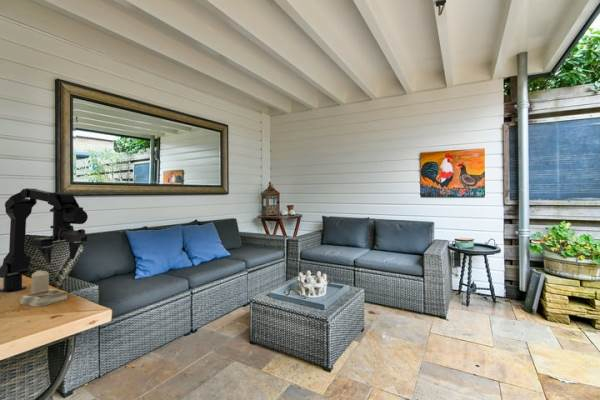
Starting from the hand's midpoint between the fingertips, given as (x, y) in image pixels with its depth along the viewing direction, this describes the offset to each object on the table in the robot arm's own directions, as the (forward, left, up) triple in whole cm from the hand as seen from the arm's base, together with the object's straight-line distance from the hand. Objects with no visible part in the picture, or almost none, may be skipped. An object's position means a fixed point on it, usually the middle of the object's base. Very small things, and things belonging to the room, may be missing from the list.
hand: (61, 261), depth 124 cm
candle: (-10, -1, -15) cm, 18 cm away
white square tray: (0, -6, -14) cm, 16 cm away
